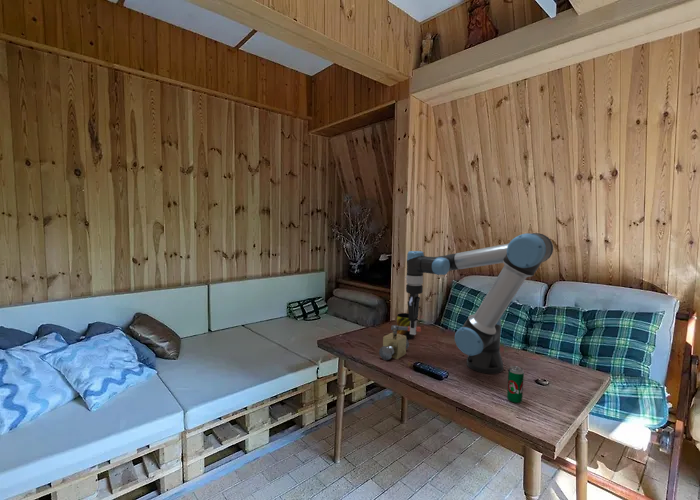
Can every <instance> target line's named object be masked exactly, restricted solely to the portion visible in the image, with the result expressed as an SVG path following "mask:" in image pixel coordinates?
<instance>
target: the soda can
mask: <svg viewBox="0 0 700 500" xmlns="http://www.w3.org/2000/svg"><path fill="white" fill-rule="evenodd" d="M524 376H525V372H524V369H523V368H522V367H519V366H516V365H511V366H509V368H508V370H507V387H506V388H507V389H506V391H507V392H506V399H507V400H508V401H509V402H510V403H514V404H520V403H522V402H523V393H524V381H525V380H524V379H525V377H524Z"/></svg>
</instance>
